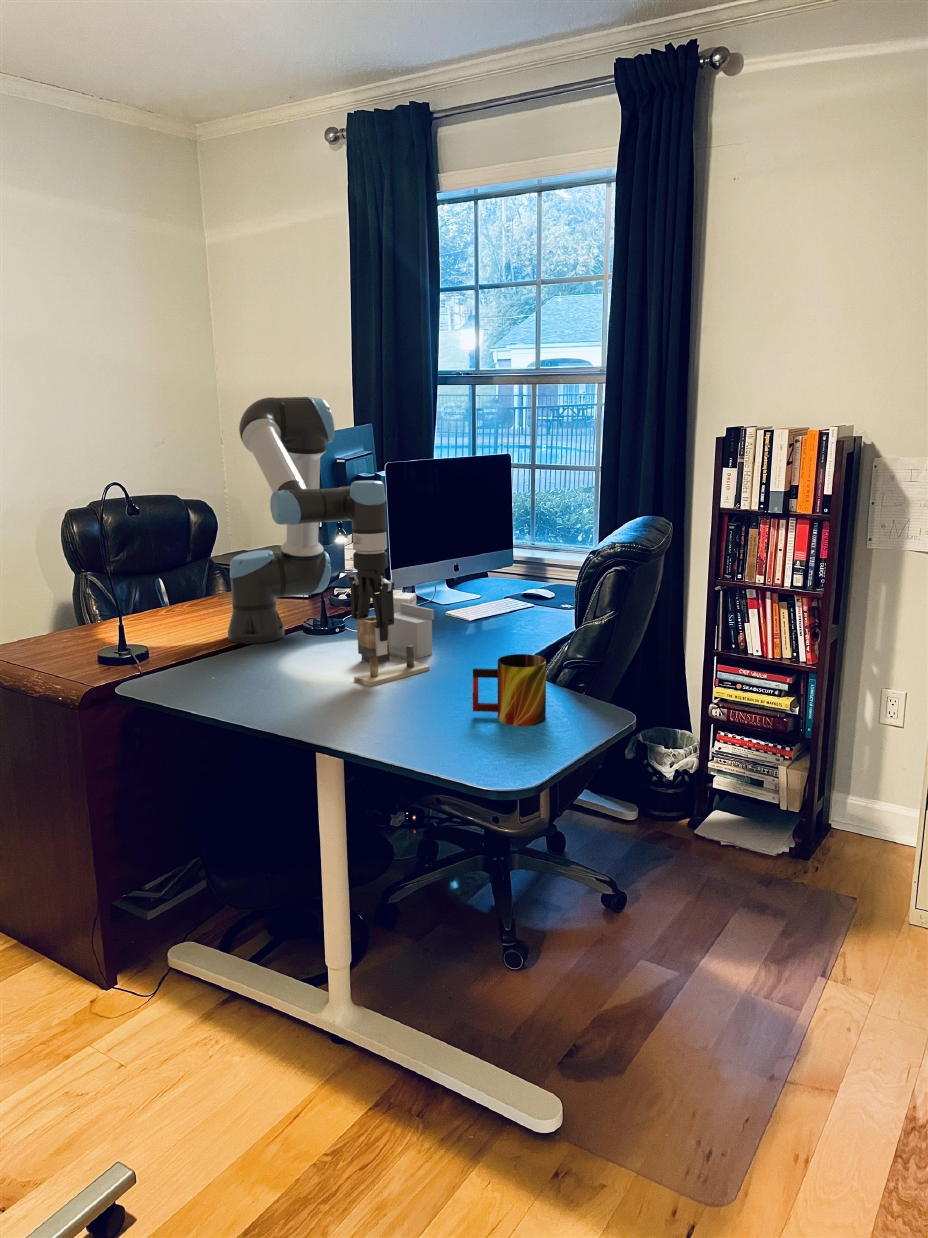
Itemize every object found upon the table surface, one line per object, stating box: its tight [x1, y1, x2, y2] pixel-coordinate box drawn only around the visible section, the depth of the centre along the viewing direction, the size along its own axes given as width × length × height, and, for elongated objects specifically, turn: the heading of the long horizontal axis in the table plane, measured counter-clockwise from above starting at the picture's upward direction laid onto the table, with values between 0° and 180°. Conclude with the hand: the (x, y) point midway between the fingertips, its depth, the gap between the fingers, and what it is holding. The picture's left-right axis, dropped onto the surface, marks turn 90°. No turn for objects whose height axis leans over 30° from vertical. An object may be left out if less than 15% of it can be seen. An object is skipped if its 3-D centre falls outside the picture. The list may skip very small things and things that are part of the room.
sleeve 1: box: [356, 615, 389, 657], centre depth 203 cm, size 5×5×8 cm
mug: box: [472, 653, 547, 727], centre depth 178 cm, size 10×14×12 cm
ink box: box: [393, 592, 417, 614], centre depth 243 cm, size 9×5×12 cm, turn 168°
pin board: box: [353, 645, 431, 687], centre depth 209 cm, size 6×18×6 cm, turn 134°
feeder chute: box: [388, 603, 435, 661], centre depth 228 cm, size 12×9×11 cm
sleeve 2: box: [361, 629, 391, 664], centre depth 222 cm, size 5×5×8 cm
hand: (373, 652), depth 204 cm, fingers closed on sleeve 1, 5 cm apart
